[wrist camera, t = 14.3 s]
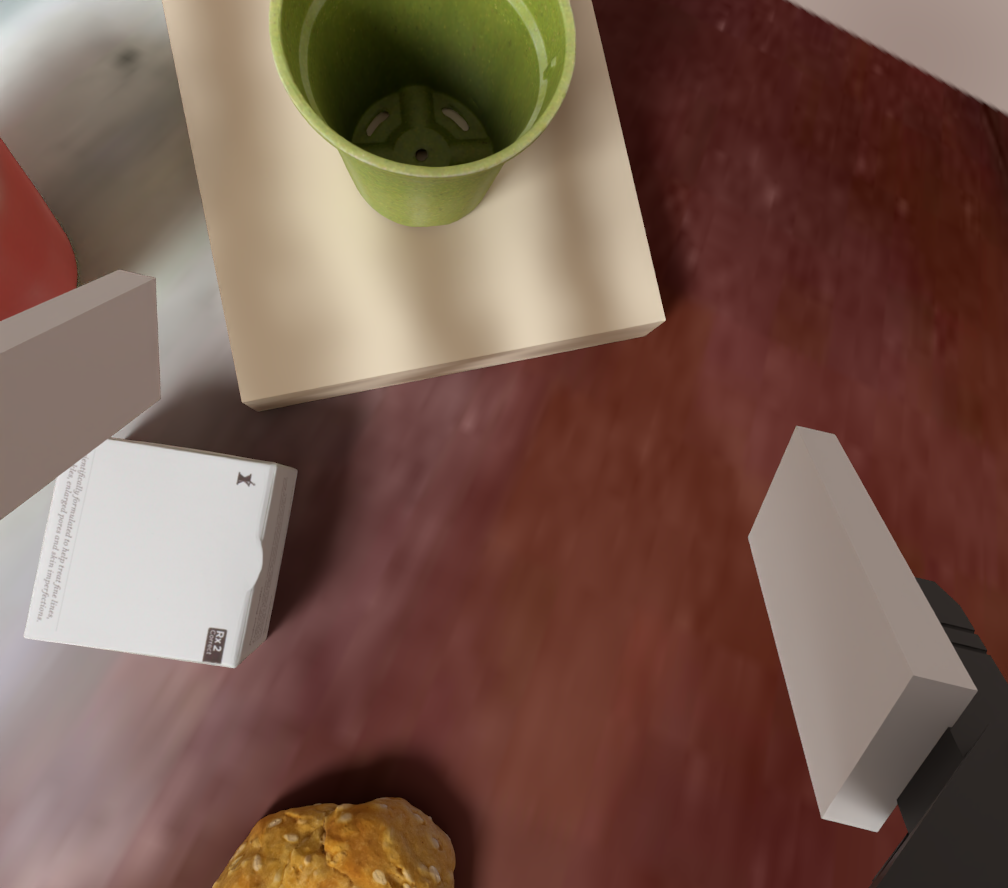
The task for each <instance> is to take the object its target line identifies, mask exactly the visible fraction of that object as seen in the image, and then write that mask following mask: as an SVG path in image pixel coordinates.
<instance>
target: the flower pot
mask: <svg viewBox="0 0 1008 888" xmlns="http://www.w3.org/2000/svg"><path fill="white" fill-rule="evenodd" d="M76 286H77V265H76V260H75V256H74V252H73V249H72V246H71V244H70V242H69V239H68V238H67V236H66V234H65V232H64V231H63V229H62V228H61V226H60V225H59V223H58V222H57V220H56V219H55V217H54V216H53V214H52V212H51V211H50V209H49V208H48V206H47V205H46V203H45V201H44V200H43V198H42V197H41V195H40V194H39V192H38V191H37V189H36V188H35V186H34V185H33V184H32V182H31V181H30V179H29V178H28V176H27V175H26V174H25V172H24V171H23V169H22V168H21V167H20V165H19V164H18V162H17V161H16V159H15V158H14V157H13V155H12V154H11V152H10V151H9V149H8V148H7V146H6V145H5V143H4V142H3V141H2V139H1V138H0V321H2V320H4V319H7V318H9V317H11V316H14V315H16V314H18V313H20V312H23V311H25V310H27V309H30V308H32V307H34V306H37V305H39V304H41V303H43V302H46V301H48V300H50V299H53V298H55V297H57V296H59V295H62V294H64V293H66V292H69V291H71V290H73V289H76Z"/></svg>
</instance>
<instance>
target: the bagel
mask: <svg viewBox="0 0 1008 888" xmlns="http://www.w3.org/2000/svg"><path fill="white" fill-rule="evenodd" d="M454 869H455V852H454V849H453V846H452V843H451V839H450V838H449V837H448V835H447V834H446V833H445V832H443V831H442V830H441V829H440V828H439V827H438V826H437V825H435V824H434V823H433V821H432V818H431V817H430V816H427V815H425V814H424V813H423V812H422V811H421V810H419V809H417V808H416V807H414V806H412V805H410V803H409V802H408V801H406V800H405V799H402V798H394V797H385V798H377V799H375V800H373V801H370V802H367V803H363V804H358V805H353V804H342V805H336V804H334V803H325V804H321V803H318V804H314V805H312V806H305V807H299V808H291V809H288V810H282V811H279V812H277V813H274V814H270V815H268V816H266V817H264V818H263V819H261V820H259V821H258V822H257V823H256V825H255V826H254V827H253V829H252V830H251V832H250V834H249V835H248V837H247V838H246V839H245V841H244V842H243V843H242V844H241V845H240V847H239V848H238V849H237V850H236V852H235V853H234V855H233V857H232V858H231V859H230V861H229V863H228V865H227V866H226V868H225V869H224V871H223V872H222V874H221V875H220V877H219V878H218V879H217V881H216V882H215V883H214V884H213V888H454V876H453V871H454Z"/></svg>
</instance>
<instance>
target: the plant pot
mask: <svg viewBox="0 0 1008 888" xmlns="http://www.w3.org/2000/svg"><path fill="white" fill-rule="evenodd" d="M269 35H270V43H271V49H272V54H273V59H274V62H275V65H276V69H277V72H278V74H279V77H280V79H281V81H282V83H283V85H284V88H285V90H286V91H287V93H288V95H289V97H290V99H291V100H292V102H293V104H294V105H295V107H296V108H297V110H298V111H299V112H300V114H301V115H302V116H303V117H304V119H305V120H306V121H307V122H308V123H309V125H310V126H311V127H312V128H313V129H314V130H315V131H316V132H317V133H318V134H319V135H320V136H321V137H323V138H324V139H325V140H326V141H327V142H328V143H330V144H331V145H332V146H334V147H335V148H336V149H337V150H338V152H339V154H340V155H341V157H342V159H343V162H344V164H345V166H346V168H347V170H348V172H349V174H350V176H351V178H352V180H353V182H354V184H355V186H356V188H357V190H358V191H359V193H360V194H361V196H362V197H363V198H364V199H365V201H366V202H367V203H368V204H369V205H370V206H371V207H372V208H373V209H374V210H375V211H377V212H378V213H379V214H381V215H382V216H384V217H386V218H387V219H389V220H391V221H394V222H396V223H398V224H402V225H405V226H410V227H429V226H440V225H448V224H451V223H453V222H455V221H458V220H459V219H461V218H463V217H464V216H466V215H467V214H469V213H470V212H471V211H472V210H474V209H475V208H476V207H477V205H478V204H479V203H480V202H481V201H482V199H483V198H484V196H485V194H486V193H487V191H488V190H489V188H490V187H491V185H492V183H493V182H494V180H495V178H496V177H497V175H498V173H499V172H500V170H501V168H502V167H503V165H504V163H506V162H507V161H509V160H511V159H512V158H514V157H515V156H517V155H518V154H520V153H521V152H523V151H524V150H525V149H526V148H528V147H529V146H530V145H531V144H532V143H533V142H534V141H535V140H536V139H537V138H538V137H539V136H540V135H541V134H542V133H543V132H544V131H545V129H546V128H547V127H548V125H549V124H550V123H551V121H552V120H553V118H554V117H555V115H556V113H557V112H558V110H559V108H560V106H561V104H562V103H563V100H564V98H565V96H566V94H567V91H568V89H569V85H570V82H571V80H572V76H573V72H574V67H575V60H576V28H575V21H574V15H573V11H572V8H571V4H570V1H569V0H270V5H269ZM443 108H449V109H452V110H453V111H455V112H457V113H458V114H459V115H460V116H461V117H462V118H463V119H464V120H465V121H466V123H467V124H468V127H469V129H468V130H467V131H464V130H463V129H462V128H461V127H459V126H458V124H457V123H456V122H455V121H454V120H452V119H451V118H450V117H448V116H446V115H444V114H443V112H442V109H443ZM381 112H388V113H389V116H388V117H387V118H386V119H385V120H384V121H383V122H381V123H380V124H379V125H378V126H377V128H376V129H375V130H374V132H373V133H372V135H371V136H368V135H367V131H366V130H367V128H368V126H369V124H370V123H371V122H372V121H373V119H374V118H375V117H376V116H377V115H378V114H380V113H381ZM420 149H424V150H426V151H427V154H428V157H427V158H426V159H425V160H423V161H419V160H417V159H416V152H417V151H418V150H420Z"/></svg>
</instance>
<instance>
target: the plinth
mask: <svg viewBox="0 0 1008 888" xmlns="http://www.w3.org/2000/svg"><path fill="white" fill-rule="evenodd" d="M569 1H570V4H571V8H572V11H573V15H574V21H575V28H576V60H575V67H574V72H573V76H572V80H571V82H570V85H569V89H568V91H567V94H566V96H565V98H564V100H563V103H562V104H561V106H560V108H559V110H558V112H557V113H556V115H555V117H554V118H553V120H552V121H551V123H550V124H549V125H548V127H547V128H546V129H545V131H544V132H543V133H542V134H541V135H540V136H539V137H538V138H537V139H536V140H535V141H534V142H533V143H532V144H531V145H530V146H529V147H528V148H526V149H525V150H524V151H523V152H521V153H520V154H518V155H517V156H515V157H514V158H512V159H511V160H509V161H507V162H506V163H504V165H503V167H502V168H501V170H500V172H499V173H498V175H497V177H496V178H495V180H494V182H493V183H492V185H491V187H490V188H489V190H488V191H487V193H486V194H485V196H484V198H483V199H482V201H481V202H480V203H479V204H478V205H477V207H476V208H475V209H474V210H472V211H471V212H470V213H469V214H467V215H466V216H464V217H463V218H461V219H459V220H458V221H455V222H453V223H451V224H448V225H440V226H429V227H410V226H405V225H402V224H398V223H396V222H394V221H391V220H389V219H387V218H386V217H384V216H382V215H381V214H379V213H378V212H377V211H375V210H374V209H373V208H372V207H371V206H370V205H369V204H368V203H367V202H366V201H365V199H364V198H363V197H362V196H361V194H360V193H359V191H358V190H357V188H356V186H355V184H354V182H353V180H352V178H351V176H350V174H349V172H348V170H347V168H346V166H345V164H344V162H343V159H342V157H341V155H340V154H339V152H338V150H337V149H336V148H335V147H334V146H332V145H331V144H330V143H328V142H327V141H326V140H325V139H324V138H323V137H321V136H320V135H319V134H318V133H317V132H316V131H315V130H314V129H313V128H312V127H311V126H310V125H309V123H308V122H307V121H306V120H305V119H304V117H303V116H302V115H301V114H300V112H299V111H298V110H297V108H296V107H295V105H294V104H293V102H292V100H291V99H290V97H289V95H288V93H287V91H286V90H285V88H284V85H283V83H282V81H281V79H280V77H279V74H278V72H277V69H276V65H275V62H274V59H273V54H272V49H271V43H270V35H269V5H270V0H162V3H163V8H164V13H165V18H166V23H167V28H168V33H169V38H170V43H171V48H172V53H173V58H174V64H175V69H176V74H177V79H178V84H179V89H180V94H181V99H182V104H183V109H184V114H185V119H186V124H187V129H188V134H189V139H190V144H191V149H192V154H193V159H194V164H195V169H196V174H197V179H198V184H199V189H200V194H201V199H202V204H203V209H204V214H205V219H206V224H207V229H208V235H209V240H210V245H211V250H212V255H213V260H214V265H215V270H216V275H217V280H218V285H219V290H220V295H221V300H222V305H223V310H224V315H225V320H226V325H227V330H228V335H229V340H230V345H231V350H232V355H233V360H234V365H235V370H236V375H237V380H238V385H239V390H240V395H241V401H242V403H244V404H245V405H247V406H249V407H251V408H252V409H254V410H256V411H257V412H259V411H264V410H269V409H274V408H280V407H285V406H290V405H295V404H300V403H305V402H310V401H315V400H320V399H326V398H331V397H336V396H341V395H346V394H351V393H356V392H361V391H366V390H372V389H377V388H382V387H387V386H392V385H397V384H402V383H407V382H412V381H418V380H423V379H428V378H433V377H438V376H443V375H448V374H453V373H458V372H463V371H469V370H474V369H479V368H484V367H489V366H494V365H499V364H504V363H509V362H515V361H520V360H525V359H530V358H535V357H540V356H545V355H550V354H555V353H561V352H566V351H571V350H576V349H581V348H586V347H591V346H596V345H601V344H607V343H612V342H617V341H622V340H627V339H632V338H637V337H642V336H645V335H647V334H648V333H649V332H651V331H652V330H654V329H655V328H656V327H658V326H659V325H660V324H662V323H663V322H664V321H666V319H665V315H664V310H663V306H662V302H661V297H660V293H659V289H658V284H657V280H656V276H655V271H654V267H653V263H652V259H651V254H650V250H649V246H648V241H647V237H646V233H645V228H644V224H643V220H642V216H641V211H640V207H639V203H638V198H637V194H636V190H635V185H634V181H633V177H632V172H631V168H630V164H629V160H628V155H627V151H626V147H625V142H624V138H623V134H622V129H621V125H620V121H619V116H618V112H617V108H616V104H615V99H614V95H613V91H612V86H611V82H610V78H609V73H608V69H607V65H606V61H605V56H604V52H603V48H602V43H601V39H600V35H599V30H598V26H597V22H596V17H595V13H594V9H593V5H592V0H569ZM442 112H443V114H444V115H446V116H448V117H450V118H451V119H452V120H454V121H455V122H456V123H457V124H458V126H459V127H461V128H462V129H463V130H464V131H467V130H468V129H469V127H468V124H467V123H466V121H465V120H464V119H463V118H462V117H461V116H460V115H459V114H458V113H457V112H455V111H453V110H452V109H449V108H443V109H442ZM388 116H389V113H388V112H381V113H380V114H378V115H377V116H376V117H375V118H374V119H373V121H372V122H371V123H370V124H369V126H368V128H367V130H366V131H367V135H368V136H371V135H372V133H373V132H374V130H375V129H376V128H377V126H378V125H379V124H380V123H381V122H383V121H384V120H385V119H386V118H387V117H388ZM427 157H428V154H427V151H426V150H424V149H420V150H418V151H417V152H416V159H417V160H419V161H423V160H425V159H426V158H427Z"/></svg>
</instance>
